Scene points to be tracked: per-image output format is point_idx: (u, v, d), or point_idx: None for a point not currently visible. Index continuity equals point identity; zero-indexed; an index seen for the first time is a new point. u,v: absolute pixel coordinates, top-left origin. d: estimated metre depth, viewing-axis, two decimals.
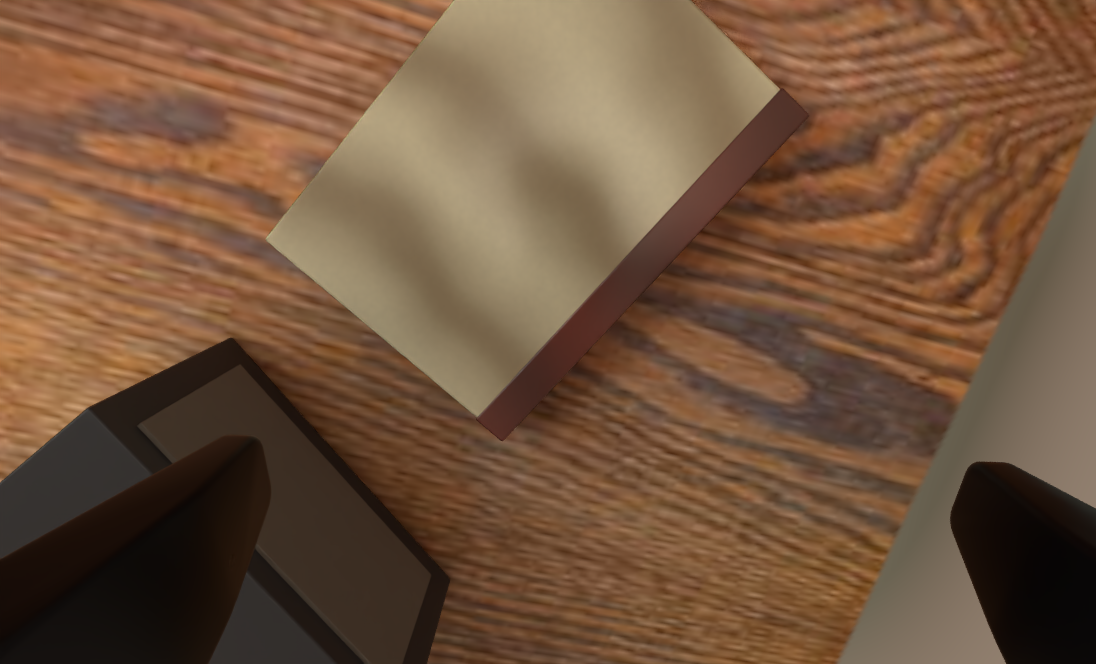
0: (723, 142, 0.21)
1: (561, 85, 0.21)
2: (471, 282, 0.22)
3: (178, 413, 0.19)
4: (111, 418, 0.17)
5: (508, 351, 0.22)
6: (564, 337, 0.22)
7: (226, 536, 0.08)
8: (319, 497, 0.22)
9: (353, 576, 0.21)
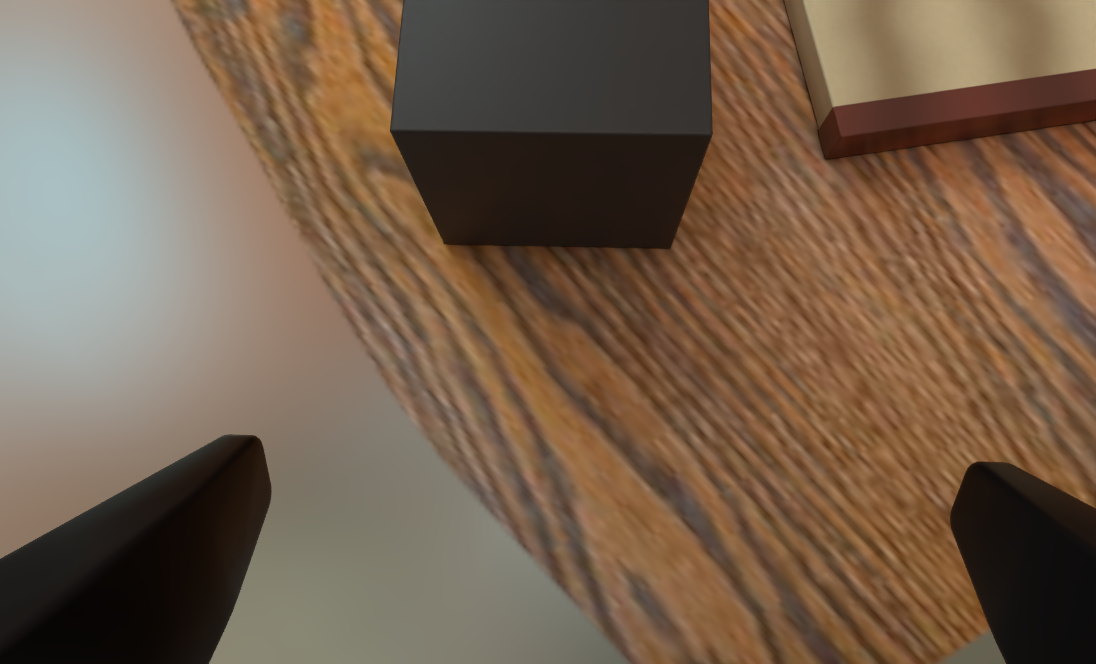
0: None
1: None
2: (906, 16, 0.24)
3: None
4: None
5: (899, 78, 0.24)
6: (953, 96, 0.23)
7: (226, 536, 0.08)
8: None
9: None
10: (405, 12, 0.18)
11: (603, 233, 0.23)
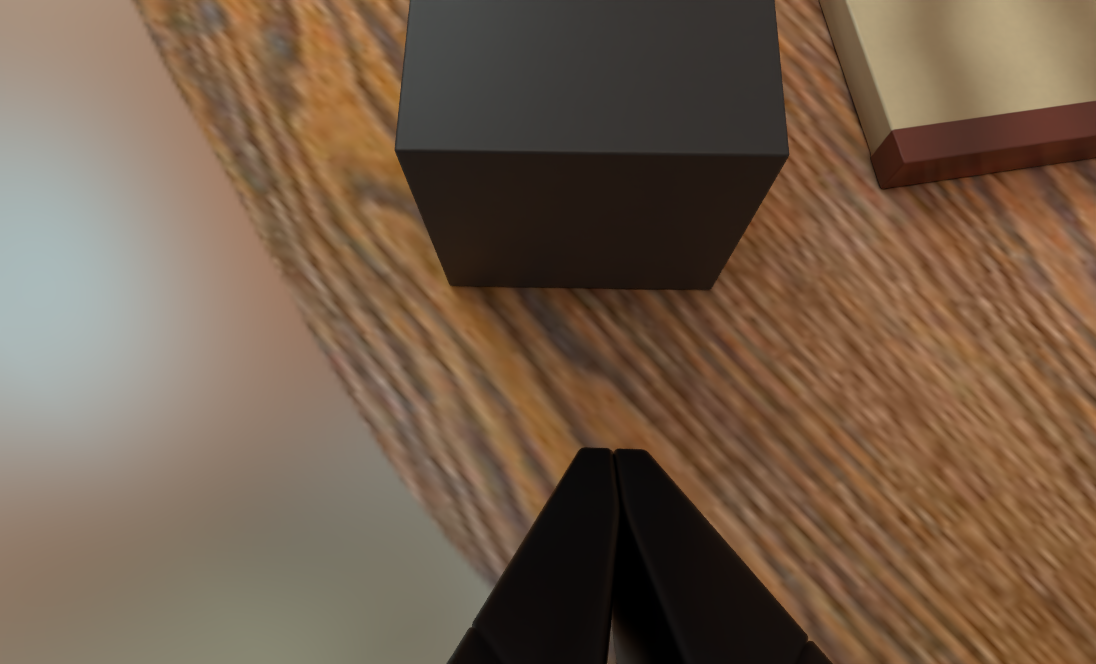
0: None
1: None
2: (966, 31, 0.22)
3: None
4: None
5: (963, 99, 0.21)
6: (1026, 119, 0.21)
7: None
8: None
9: None
10: (412, 11, 0.15)
11: (636, 273, 0.20)
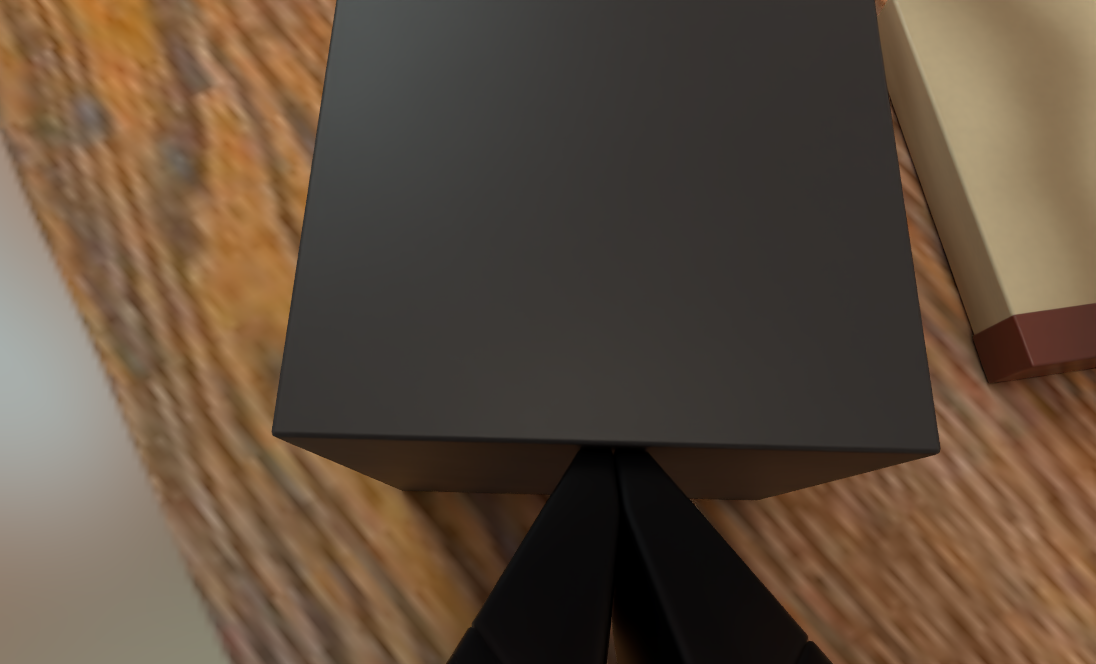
0: None
1: None
2: None
3: None
4: None
5: None
6: None
7: None
8: None
9: None
10: (315, 177, 0.09)
11: None
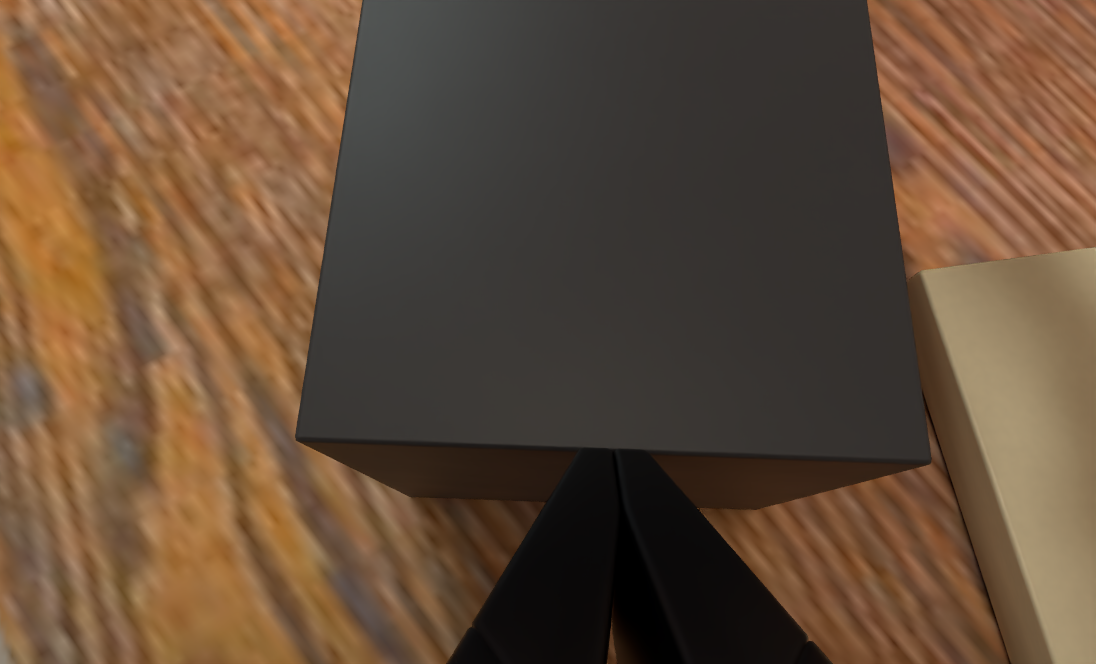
0: None
1: None
2: None
3: None
4: None
5: None
6: None
7: None
8: None
9: None
10: (338, 194, 0.10)
11: None
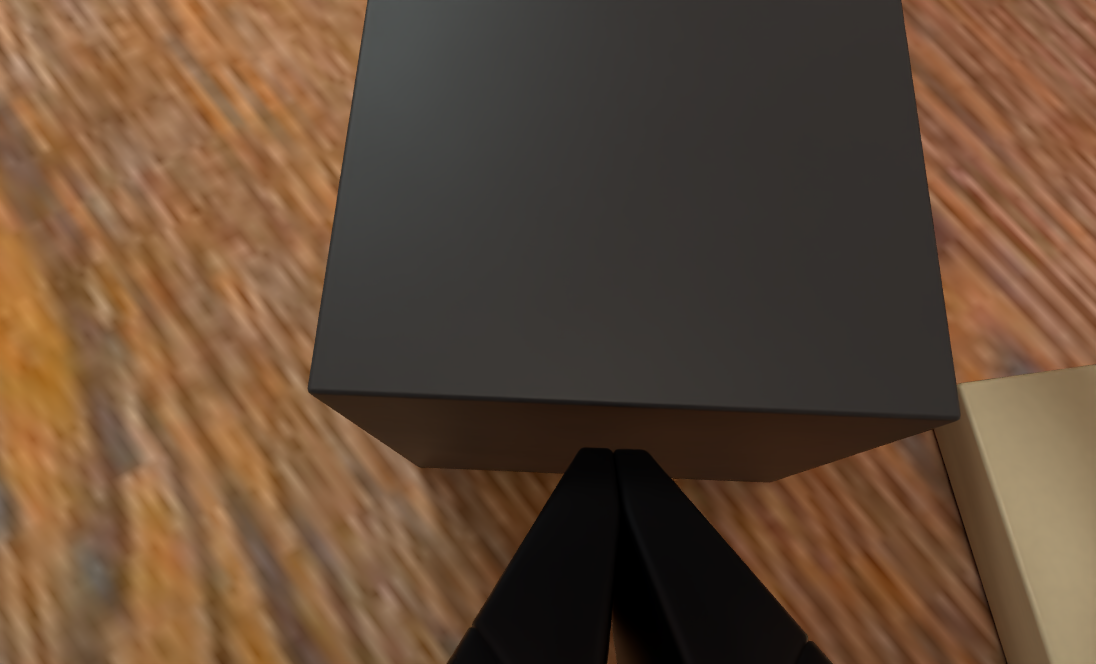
0: None
1: None
2: None
3: None
4: None
5: None
6: None
7: None
8: None
9: None
10: (351, 145, 0.09)
11: (674, 471, 0.14)
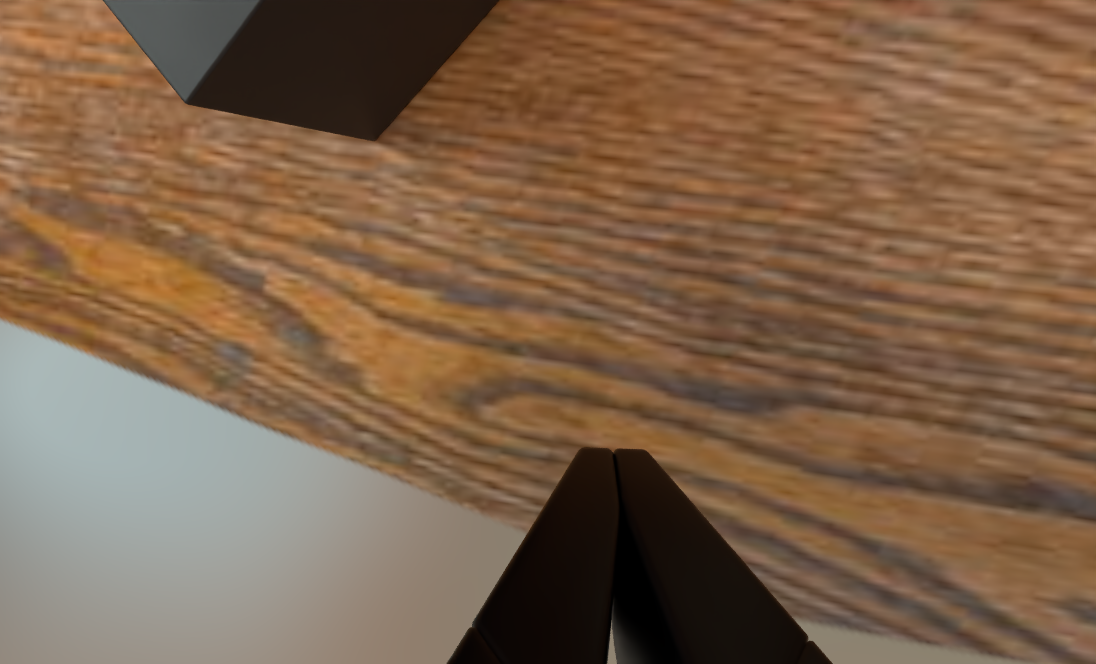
0: None
1: None
2: None
3: None
4: None
5: None
6: None
7: None
8: None
9: None
10: None
11: None
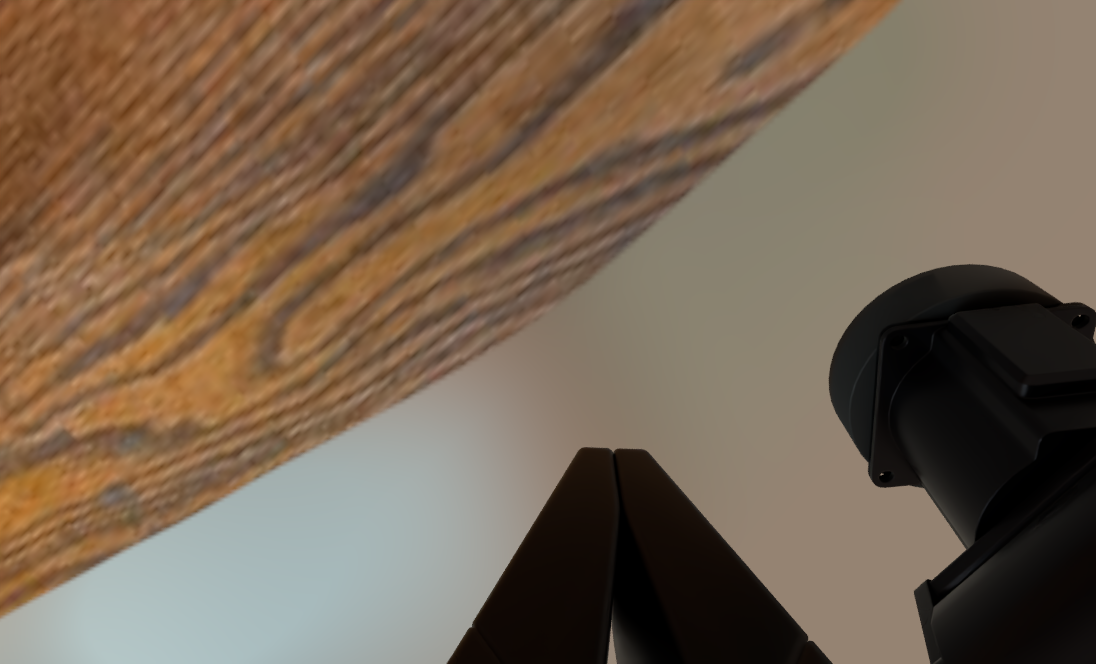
0: None
1: None
2: None
3: None
4: None
5: None
6: None
7: None
8: None
9: None
10: None
11: None
